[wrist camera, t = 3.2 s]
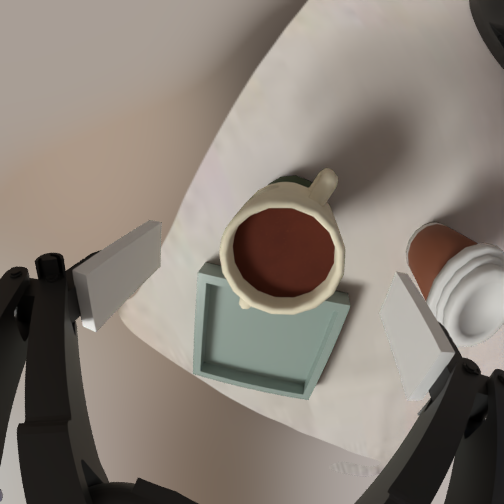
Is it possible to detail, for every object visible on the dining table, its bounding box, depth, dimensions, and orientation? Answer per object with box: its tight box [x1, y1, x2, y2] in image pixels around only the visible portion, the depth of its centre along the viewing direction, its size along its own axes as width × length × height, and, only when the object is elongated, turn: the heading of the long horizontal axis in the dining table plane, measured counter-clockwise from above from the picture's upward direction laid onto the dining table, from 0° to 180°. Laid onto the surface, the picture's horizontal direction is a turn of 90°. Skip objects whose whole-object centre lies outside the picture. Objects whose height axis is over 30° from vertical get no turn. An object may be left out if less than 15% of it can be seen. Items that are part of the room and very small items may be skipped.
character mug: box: [219, 168, 345, 315], centre depth 21 cm, size 11×7×13 cm, turn 150°
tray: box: [193, 263, 350, 400], centre depth 33 cm, size 16×16×2 cm
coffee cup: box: [406, 222, 504, 347], centre depth 21 cm, size 9×9×12 cm
